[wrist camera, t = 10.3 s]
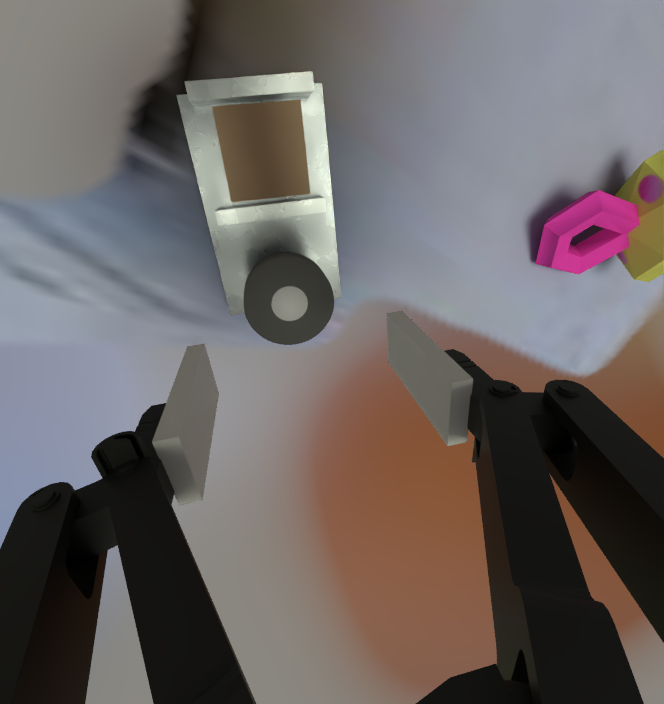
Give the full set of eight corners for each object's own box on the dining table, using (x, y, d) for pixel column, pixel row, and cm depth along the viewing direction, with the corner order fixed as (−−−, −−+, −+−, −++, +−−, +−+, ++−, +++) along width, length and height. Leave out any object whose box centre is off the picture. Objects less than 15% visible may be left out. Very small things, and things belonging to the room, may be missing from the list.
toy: (530, 167, 34) (575, 237, 28) (762, 107, 30) (872, 172, 24) (516, 250, 42) (549, 318, 36) (698, 211, 38) (769, 279, 32)
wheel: (320, 242, 26) (329, 252, 23) (328, 318, 29) (337, 337, 26) (236, 254, 25) (233, 265, 22) (253, 331, 28) (253, 351, 25)
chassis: (317, 84, 27) (327, 70, 23) (336, 291, 35) (347, 306, 31) (180, 95, 26) (167, 82, 22) (231, 307, 34) (228, 326, 30)
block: (291, 113, 26) (300, 99, 21) (300, 189, 28) (310, 193, 23) (220, 119, 25) (211, 106, 20) (235, 196, 28) (231, 202, 23)
